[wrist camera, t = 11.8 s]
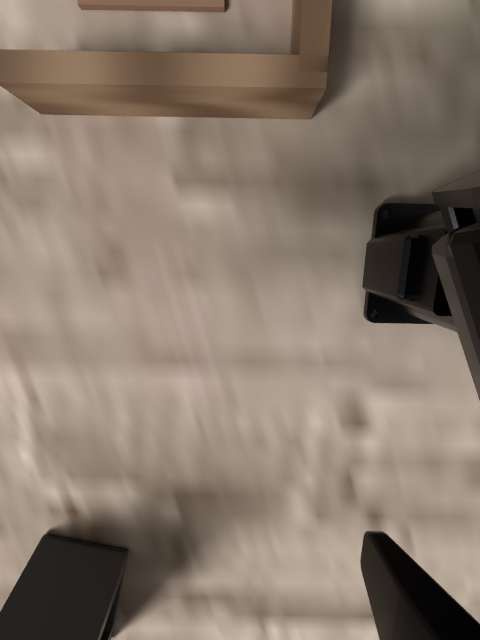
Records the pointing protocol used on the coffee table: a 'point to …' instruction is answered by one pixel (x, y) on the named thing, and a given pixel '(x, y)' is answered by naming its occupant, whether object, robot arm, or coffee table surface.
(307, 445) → the coffee table surface
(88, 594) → the phone stand
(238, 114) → the l-shaped wooden corner frame
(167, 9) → the pad
